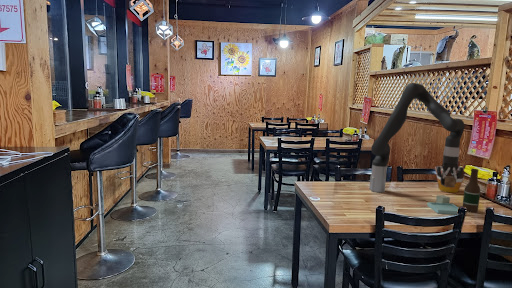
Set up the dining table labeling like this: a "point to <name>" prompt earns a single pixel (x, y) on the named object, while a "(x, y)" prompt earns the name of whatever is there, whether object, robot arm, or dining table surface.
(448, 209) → the teal tray
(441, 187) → the bucket of meat
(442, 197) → the sage block
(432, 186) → the dining table surface
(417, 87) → the robot arm
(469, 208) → the beer bottle
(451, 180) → the walnut block
